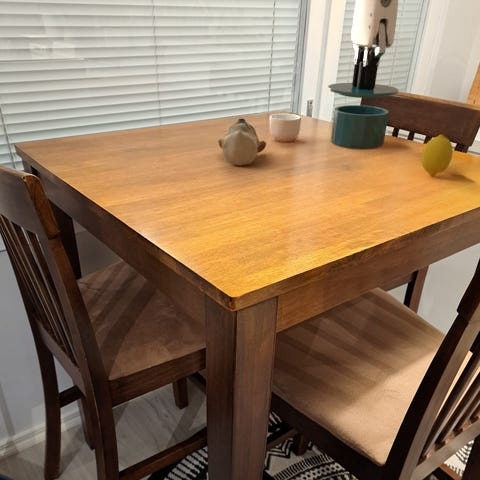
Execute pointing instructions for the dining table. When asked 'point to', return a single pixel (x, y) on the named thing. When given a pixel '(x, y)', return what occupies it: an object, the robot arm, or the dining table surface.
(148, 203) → the dining table surface
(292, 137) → the teacup
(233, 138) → the ceramic sculpture
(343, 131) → the pot
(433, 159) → the lemon
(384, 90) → the lid
